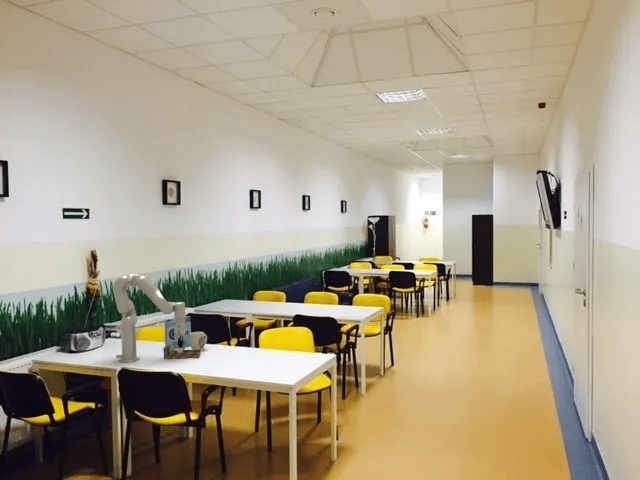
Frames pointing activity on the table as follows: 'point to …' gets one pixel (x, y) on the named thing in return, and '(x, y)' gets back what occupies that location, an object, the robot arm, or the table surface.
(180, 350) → the jaw
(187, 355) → the bench
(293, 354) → the table surface
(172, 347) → the gum box
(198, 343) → the pitcher
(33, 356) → the table surface
